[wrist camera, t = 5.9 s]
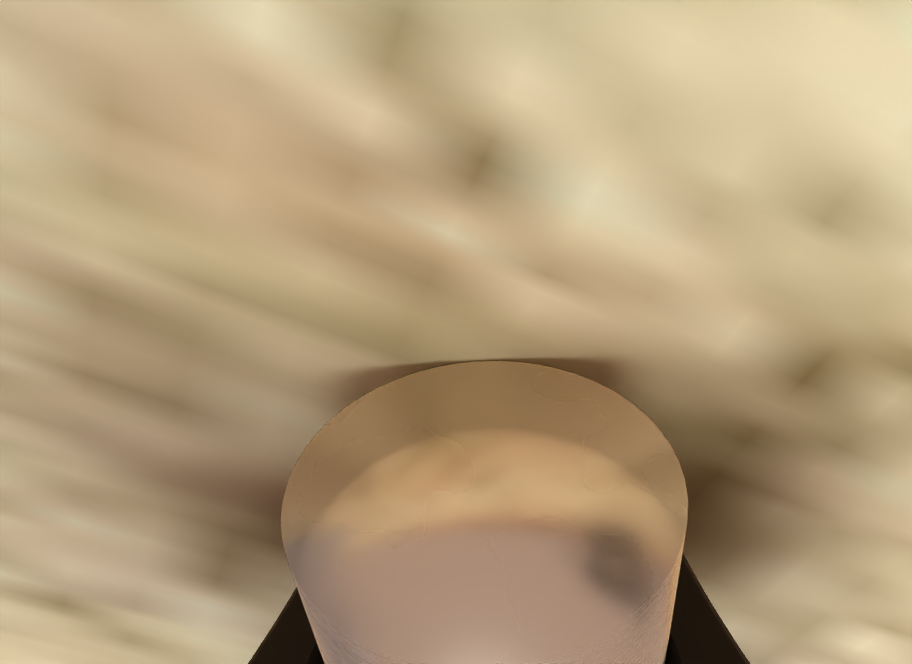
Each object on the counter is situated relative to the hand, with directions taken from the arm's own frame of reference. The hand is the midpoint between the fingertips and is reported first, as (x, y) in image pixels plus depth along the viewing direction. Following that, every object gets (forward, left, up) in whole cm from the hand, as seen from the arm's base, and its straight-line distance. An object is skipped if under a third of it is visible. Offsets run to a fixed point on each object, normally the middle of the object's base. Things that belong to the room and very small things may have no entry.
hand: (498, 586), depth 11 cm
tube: (0, -5, -1) cm, 5 cm away
